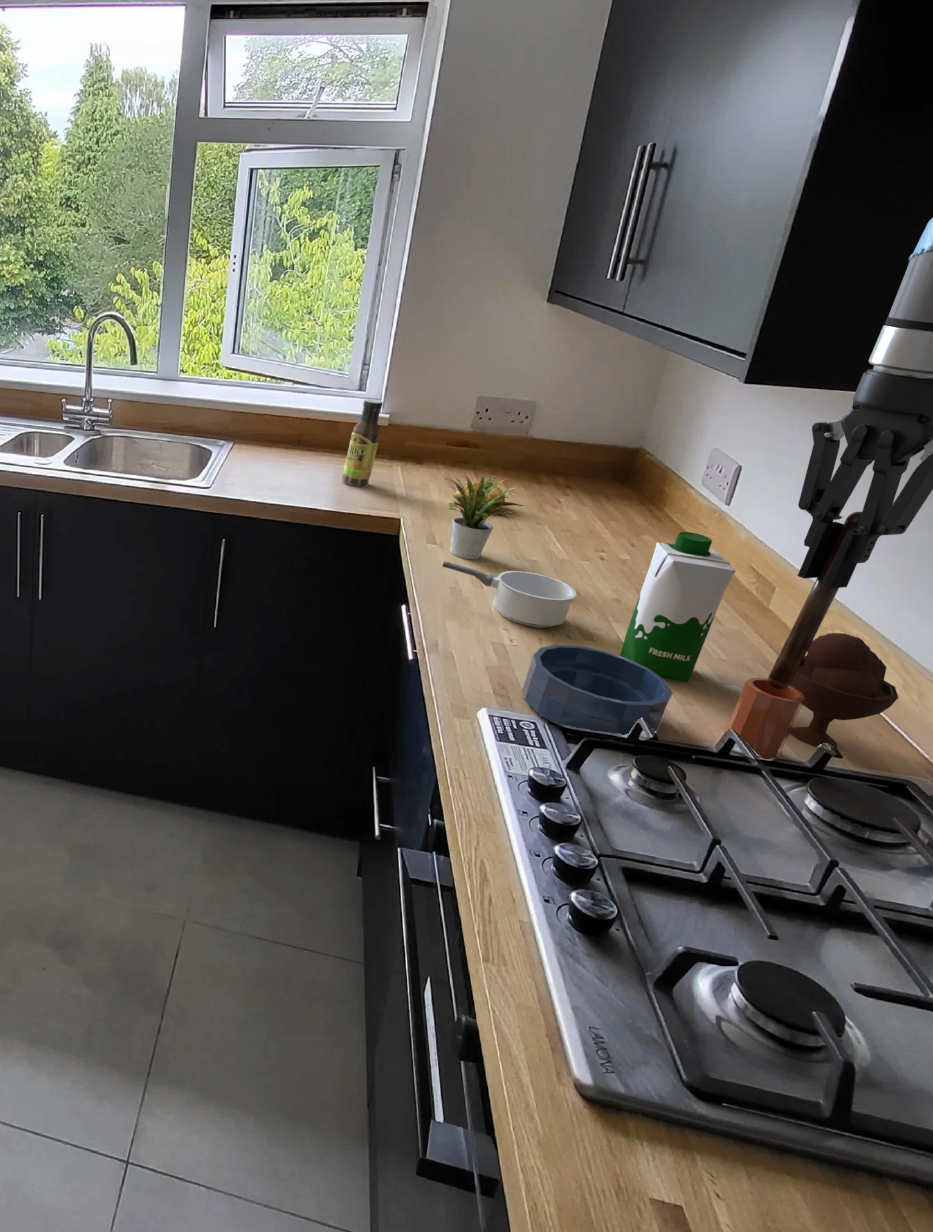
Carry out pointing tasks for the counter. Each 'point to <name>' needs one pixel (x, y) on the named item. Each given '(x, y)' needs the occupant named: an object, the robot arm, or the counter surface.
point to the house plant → (475, 518)
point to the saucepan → (526, 596)
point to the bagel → (475, 486)
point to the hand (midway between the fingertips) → (821, 581)
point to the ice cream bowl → (840, 685)
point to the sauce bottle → (363, 445)
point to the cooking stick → (809, 617)
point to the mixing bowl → (594, 689)
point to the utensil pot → (765, 716)
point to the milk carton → (677, 606)
